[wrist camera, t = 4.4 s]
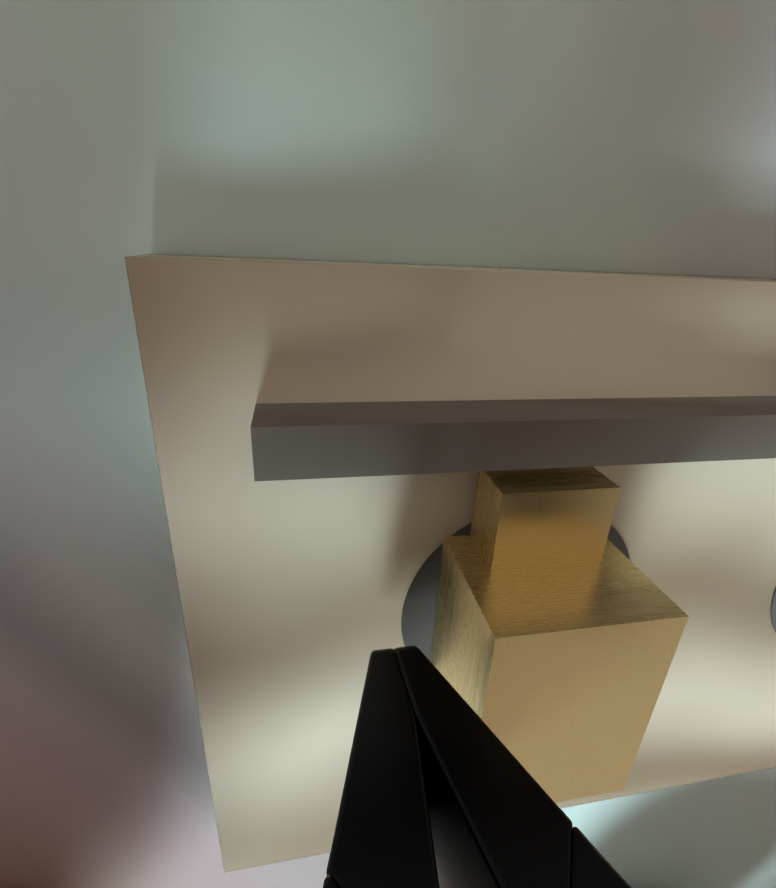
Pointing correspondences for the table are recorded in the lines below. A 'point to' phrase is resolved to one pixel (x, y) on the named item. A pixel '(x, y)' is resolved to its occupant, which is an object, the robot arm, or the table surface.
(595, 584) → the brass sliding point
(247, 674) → the plate
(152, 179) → the table surface
